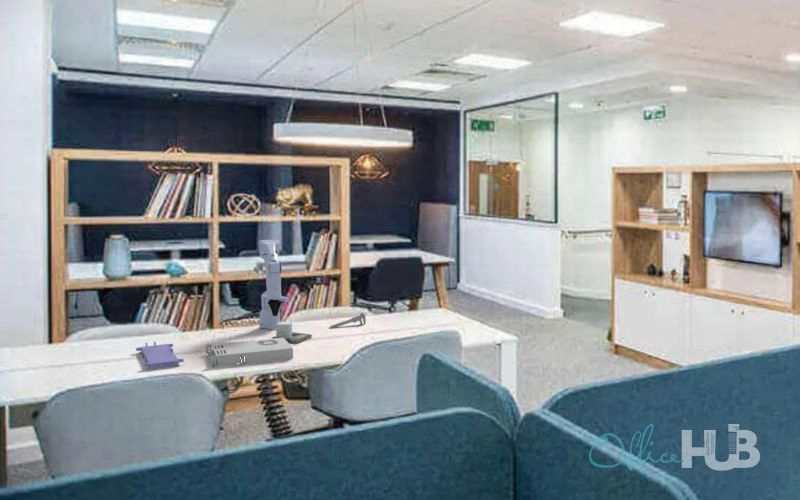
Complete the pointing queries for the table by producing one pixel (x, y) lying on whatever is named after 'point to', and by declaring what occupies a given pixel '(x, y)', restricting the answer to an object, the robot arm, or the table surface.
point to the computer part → (159, 356)
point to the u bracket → (297, 337)
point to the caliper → (351, 320)
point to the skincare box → (284, 329)
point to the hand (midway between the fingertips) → (275, 315)
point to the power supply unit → (249, 351)
